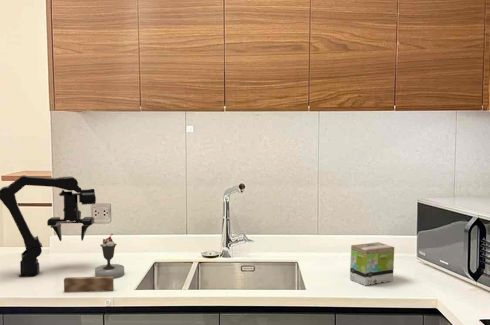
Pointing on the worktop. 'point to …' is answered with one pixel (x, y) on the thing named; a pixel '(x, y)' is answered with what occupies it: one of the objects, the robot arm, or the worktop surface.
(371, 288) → the worktop surface
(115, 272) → the slate plinth
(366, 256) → the tea box
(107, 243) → the sundae
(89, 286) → the brown wooden plank
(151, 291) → the worktop surface
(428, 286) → the worktop surface
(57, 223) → the robot arm
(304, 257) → the worktop surface
